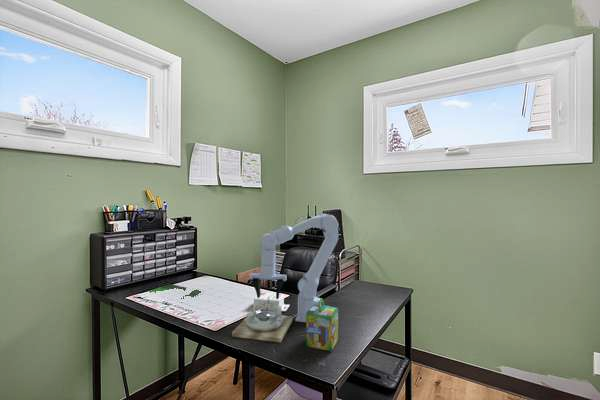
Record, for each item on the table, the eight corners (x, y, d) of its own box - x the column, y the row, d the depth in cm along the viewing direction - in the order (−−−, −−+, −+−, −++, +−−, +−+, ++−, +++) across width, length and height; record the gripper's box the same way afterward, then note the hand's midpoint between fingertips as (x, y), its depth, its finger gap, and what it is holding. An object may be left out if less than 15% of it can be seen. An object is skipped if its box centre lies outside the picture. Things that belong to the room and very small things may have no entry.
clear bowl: (287, 317, 113) (287, 305, 113) (276, 333, 100) (277, 319, 100) (253, 314, 116) (254, 302, 116) (239, 329, 102) (239, 315, 102)
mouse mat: (207, 292, 148) (207, 290, 148) (174, 306, 128) (174, 304, 128) (168, 285, 159) (168, 283, 159) (132, 297, 139) (132, 295, 139)
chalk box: (331, 352, 91) (332, 307, 91) (305, 346, 95) (305, 302, 95) (339, 339, 100) (339, 297, 100) (314, 334, 103) (315, 294, 103)
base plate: (292, 320, 115) (293, 316, 115) (280, 342, 97) (280, 337, 97) (251, 315, 119) (251, 312, 119) (232, 336, 101) (232, 331, 101)
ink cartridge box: (260, 292, 134) (290, 294, 131) (260, 302, 134) (290, 305, 131) (253, 298, 125) (285, 301, 122) (253, 309, 125) (285, 312, 122)
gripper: (287, 262, 117) (287, 295, 117) (253, 261, 119) (253, 293, 119) (284, 266, 110) (284, 301, 110) (248, 265, 112) (248, 299, 112)
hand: (268, 297), depth 114 cm, fingers open, 7 cm apart
